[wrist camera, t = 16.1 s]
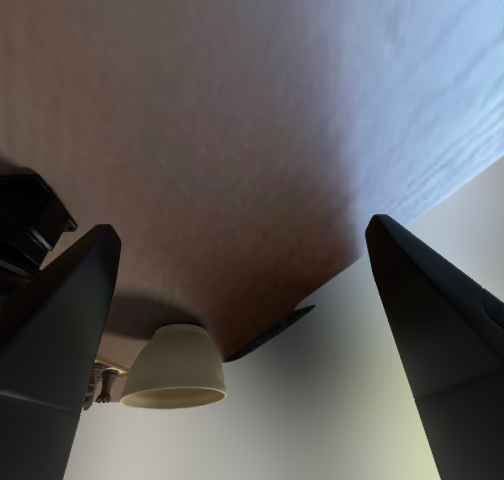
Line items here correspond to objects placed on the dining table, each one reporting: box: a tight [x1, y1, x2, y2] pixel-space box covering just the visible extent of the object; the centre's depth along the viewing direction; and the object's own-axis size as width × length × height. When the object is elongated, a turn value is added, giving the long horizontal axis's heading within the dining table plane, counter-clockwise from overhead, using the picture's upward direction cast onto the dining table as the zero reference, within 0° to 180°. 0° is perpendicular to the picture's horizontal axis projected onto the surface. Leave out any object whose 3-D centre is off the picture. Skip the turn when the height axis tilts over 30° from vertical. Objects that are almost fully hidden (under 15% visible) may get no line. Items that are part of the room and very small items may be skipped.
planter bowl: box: [120, 324, 226, 410], centre depth 44 cm, size 16×16×11 cm
